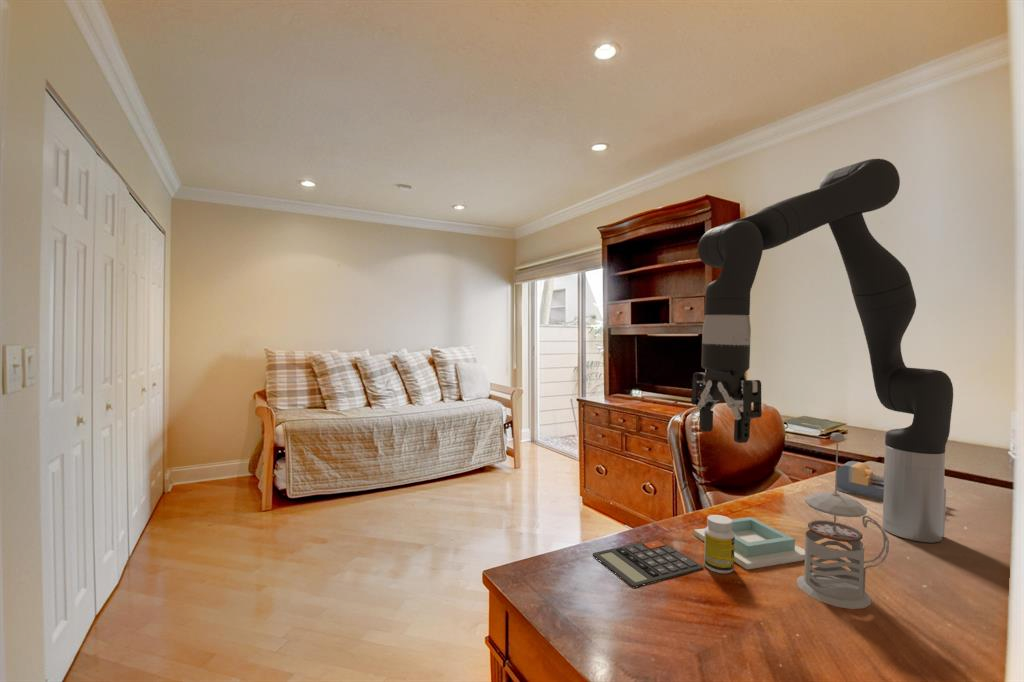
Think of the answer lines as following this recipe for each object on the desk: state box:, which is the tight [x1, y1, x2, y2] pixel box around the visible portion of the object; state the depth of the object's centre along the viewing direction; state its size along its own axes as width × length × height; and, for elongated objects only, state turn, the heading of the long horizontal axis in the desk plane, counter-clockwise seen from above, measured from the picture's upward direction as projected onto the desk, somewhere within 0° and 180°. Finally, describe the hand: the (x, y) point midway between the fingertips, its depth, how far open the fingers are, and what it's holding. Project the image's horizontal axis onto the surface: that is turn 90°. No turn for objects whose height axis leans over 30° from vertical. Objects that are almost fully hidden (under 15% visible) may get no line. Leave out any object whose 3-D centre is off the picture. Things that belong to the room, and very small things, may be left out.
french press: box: [796, 432, 890, 610], centre depth 74 cm, size 10×12×25 cm
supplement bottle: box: [703, 514, 735, 574], centre depth 82 cm, size 5×5×8 cm
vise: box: [837, 460, 884, 501], centre depth 117 cm, size 18×10×7 cm, turn 39°
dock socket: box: [693, 516, 805, 570], centre depth 90 cm, size 14×14×3 cm
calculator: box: [592, 538, 704, 588], centre depth 84 cm, size 12×1×15 cm
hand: (722, 436), depth 82 cm, fingers open, 8 cm apart
